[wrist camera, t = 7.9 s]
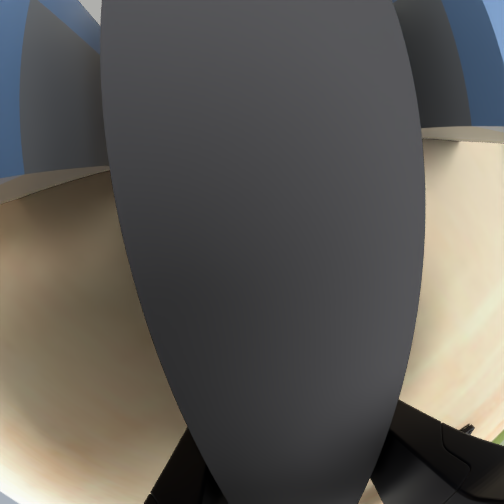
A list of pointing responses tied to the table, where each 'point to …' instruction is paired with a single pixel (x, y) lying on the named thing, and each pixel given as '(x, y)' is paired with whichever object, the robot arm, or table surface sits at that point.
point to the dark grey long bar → (271, 227)
